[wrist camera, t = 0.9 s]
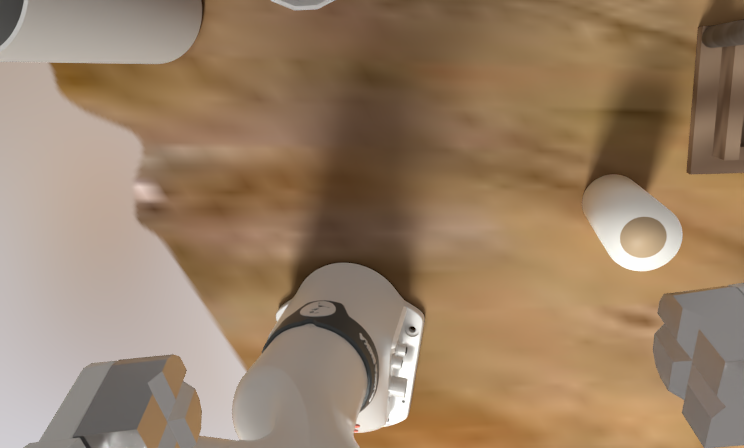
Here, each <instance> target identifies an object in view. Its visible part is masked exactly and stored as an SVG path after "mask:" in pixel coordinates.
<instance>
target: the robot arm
mask: <svg viewBox="0 0 744 448" xmlns="http://www.w3.org/2000/svg"><path fill="white" fill-rule="evenodd" d="M658 315H659V316H660V317H661V319H662V320H663V322H664V323H665V324H664V325H663V326H662V327H661V328H660V329H659V330H658V331H657V332H656V333H655V334H654V344H653V353H654V359H655V364H656V368H657V370H658V373H659V375H660V378H661V379H662V381H663V383H664V384H665V386H666V388H667V389H668V391H670V392H672V393H673V394H675V395H677V396H678V397H680V398H682V399H683V400H684V405H683V410H682V414H683V415H684V417H685V418H686V420H687V421H688V423H689V425H690V426H691V428H692V429H693V431H694V433H695V434H696V436H697V437H698V439H699V440H700V442H701V444H702V445H703V447H704V448H714V447H727V446H740V445H744V283H739V284H732V285H728V286H721V287H713V288H706V289H698V290H690V291H683V292H675V293H667V294H664V295H663V296H662V298H661V300H660V302H659V308H658ZM276 320H277V323H276V325H275V326H274V328H273V330H272V331H271V333H270V335H269V337H268V340H267V342H266V344H265V346H264V348H263V351H262V354H261V355H260V357H259V358H258V359H257V360H256V361H255V363H254V364H253V365H252V366H251V368H250V369H249V370H248V371H247V373H246V374H245V375H244V376H243V377H242V379H241V380H240V382H239V384H238V386H237V389H236V392H235V395H234V400H233V406H232V418H233V424H234V428H235V431H236V433H237V435H238V438H239V441H236V440H228V439H221V438H213V437H206V436H199V433H200V430H201V415H202V410H201V406H200V400H199V397H198V395H197V392H196V390H195V388H193V387H192V386H190V385H188V384H187V383H185V382H184V381H183V379H184V377H185V374H186V371H187V370H186V368H185V366H184V364H183V362H182V360H181V358H180V357H179V356H176V355H164V356H154V357H144V358H133V359H123V360H119V361H110V362H99V363H91V364H90V365H88V366H86V367H85V368H83V370H82V372H81V373H80V375H79V376H78V378H77V380H76V382H75V383H74V385H73V386H72V388H71V389H70V391H69V393H68V394H67V396H66V398H65V399H64V401H63V403H62V404H61V406H60V408H59V409H58V411H57V412H56V414H55V416H54V417H53V419H52V421H51V423H50V424H49V426H48V427H47V429H46V431H45V432H44V434H43V436H42V437H41V439H40V440H39V442H36V443H29V444H28V445H27V446H25V447H24V448H360V447H359V446H358V444H357V443H356V441H355V439H354V433H362V432H370V431H374V430H377V429H379V428H381V427H385V426H390V425H394V424H397V423H399V422H401V421H403V420H405V419H406V418H407V416H408V414H409V411H410V406H411V400H412V394H413V388H414V382H415V376H416V370H417V364H418V358H419V352H420V346H421V340H422V334H423V328H424V322H425V318H424V315H423V313H422V312H421V311H420V310H419V309H418V308H416V307H415V306H413V305H411V304H410V303H408V302H406V301H405V300H404V299H403V298H402V297H401V296H400V295H399V293H398V292H397V291H396V289H395V288H394V287H393V286H392V284H391V283H390V282H389V281H388V280H387V279H385V278H384V277H383V276H382V275H380V274H379V273H377V272H376V271H374V270H372V269H370V268H368V267H365V266H362V265H358V264H353V263H334V264H330V265H326V266H323V267H321V268H319V269H317V270H316V271H314V272H313V273H311V274H310V275H309V276H308V277H307V278H306V279H305V280H304V281H303V283H302V284H301V286H300V288H299V289H298V291H297V293H296V294H295V296H294V297H293V298H292V299H291V300H289V301H288V302H286V303H285V304H284V305H282V306H281V307H280V308H279V310H278V312H277V314H276ZM410 326H414V327H415V328H416V329H415V330H411V329H410ZM388 418H389V419H388Z"/></svg>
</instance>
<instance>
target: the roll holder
mask: <svg viewBox="0 0 744 448" xmlns="http://www.w3.org/2000/svg"><path fill="white" fill-rule="evenodd" d="M687 173H689V174H720V173H744V19H743V20H738V21H733V22H728V23H723V24H718V25H713V26H702V27H698V36H697V49H696V61H695V74H694V86H693V99H692V111H691V124H690V136H689V149H688V161H687Z"/></svg>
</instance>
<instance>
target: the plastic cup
mask: <svg viewBox="0 0 744 448" xmlns="http://www.w3.org/2000/svg"><path fill="white" fill-rule="evenodd" d="M272 1H273V2H275V3H277V4H280V5H282V6H285V7H287V8H290V9H292V10H313V9H319V8H321V7H323V6H325V5H327V4H329V3H331V2H333V1H335V0H272Z"/></svg>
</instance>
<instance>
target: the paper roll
mask: <svg viewBox="0 0 744 448" xmlns="http://www.w3.org/2000/svg"><path fill="white" fill-rule="evenodd" d="M582 209H583V212H584V214H585V216H586V218H587V220H588V221H589V223H590V224H591V226H592V228H593V229H594V231H595V232H596V234H597V236H598V237H599V239H600V241H601V242H602V244H603V245H604V247H605V249H606V250H607V252H608V253H609V255H610V256H611V258H612V259H613V260H614V261H615V262H616V263H617V264H619V265H621V266H622V267H624V268H627V269H630V270H634V271H648V270H653V269H656V268H659V267H661V266H663V265H665V264H666V263H668V262H669V261H670V260H671V259H672V258H673V257H674V256H675V255H676V253H677V252H678V250H679V248H680V245H681V242H682V228H681V224H680V222H679V220H678V219H677V217H676V216H675V215H674V214H673V213H672V212H671V211H670V210H669V209H667V208H666V207H665V206H664V205H662V204H661V203H660V202H659V201H658V200H656V199H655V198H654V197H653V196H651V195H650V194H649V193H648V192H646V191H645V190H644V189H643V188H641V187H640V186H639V185H638V184H636V183H635V182H634V181H633V180H631V179H630V178H628V177H626V176H623V175H618V174H610V175H605V176H602V177H600V178H597V179H596V180H594V181H593V182H592V183H591V184H590V185H589V186H588V187H587V189H586V190H585V192H584V194H583V198H582Z"/></svg>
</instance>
